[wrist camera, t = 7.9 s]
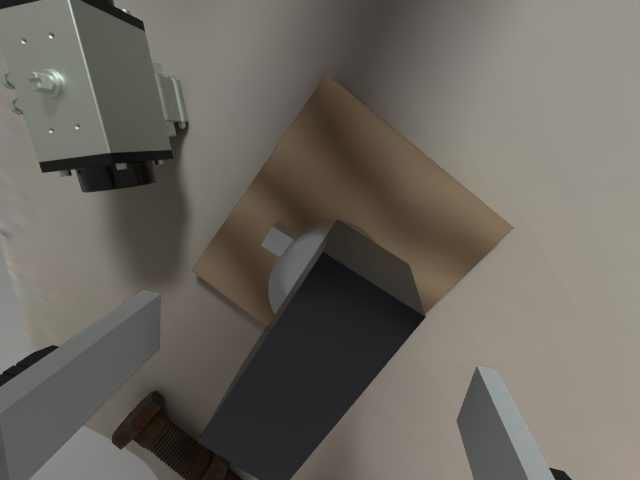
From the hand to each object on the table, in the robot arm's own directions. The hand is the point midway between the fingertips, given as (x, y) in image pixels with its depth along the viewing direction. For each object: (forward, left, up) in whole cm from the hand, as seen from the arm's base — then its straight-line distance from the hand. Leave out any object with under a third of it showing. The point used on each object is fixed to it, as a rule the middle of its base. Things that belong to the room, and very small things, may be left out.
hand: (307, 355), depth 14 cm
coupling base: (0, 0, -17) cm, 17 cm away
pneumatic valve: (0, -19, -17) cm, 25 cm away
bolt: (+29, +2, -17) cm, 33 cm away
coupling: (0, 0, -11) cm, 11 cm away
